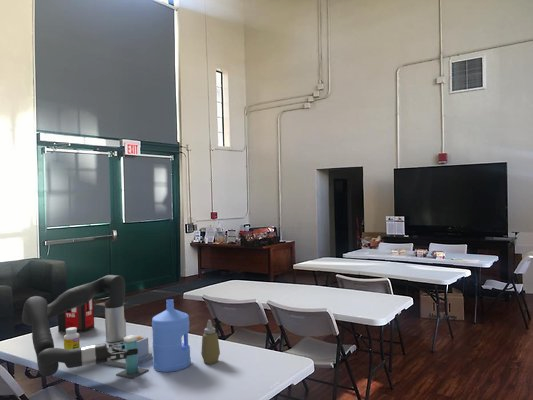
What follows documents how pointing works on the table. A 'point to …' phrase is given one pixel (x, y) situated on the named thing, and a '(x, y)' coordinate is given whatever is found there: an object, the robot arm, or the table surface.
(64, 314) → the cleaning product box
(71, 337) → the supplement bottle
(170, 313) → the water jug
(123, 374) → the mat
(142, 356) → the housing
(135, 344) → the cylinder
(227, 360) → the table surface
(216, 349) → the squeeze bottle
